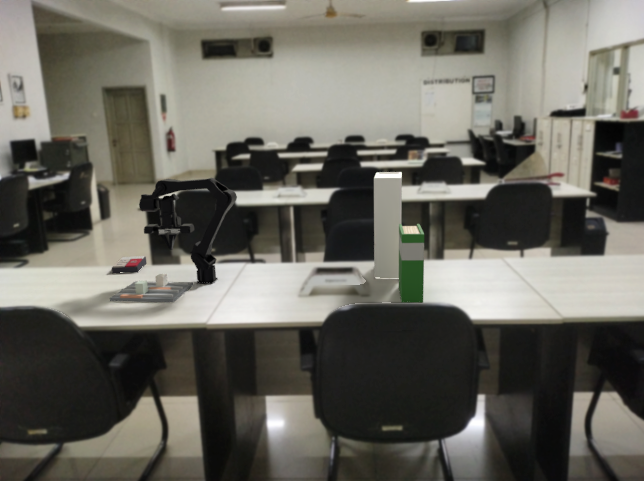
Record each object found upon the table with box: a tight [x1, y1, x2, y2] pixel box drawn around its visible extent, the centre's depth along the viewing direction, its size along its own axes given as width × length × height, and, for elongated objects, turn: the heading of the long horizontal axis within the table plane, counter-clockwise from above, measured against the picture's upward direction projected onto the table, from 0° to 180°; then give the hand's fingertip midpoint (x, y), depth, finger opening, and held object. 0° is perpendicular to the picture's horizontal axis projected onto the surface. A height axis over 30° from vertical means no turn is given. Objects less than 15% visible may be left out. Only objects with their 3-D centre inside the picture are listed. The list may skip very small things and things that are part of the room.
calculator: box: [111, 255, 147, 274], centre depth 234 cm, size 11×4×15 cm
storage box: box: [373, 171, 403, 278], centre depth 214 cm, size 21×10×40 cm, turn 172°
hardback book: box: [398, 223, 425, 303], centre depth 188 cm, size 18×7×24 cm, turn 175°
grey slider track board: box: [109, 280, 194, 303], centre depth 199 cm, size 24×20×2 cm
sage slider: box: [135, 280, 148, 294], centre depth 194 cm, size 3×4×4 cm
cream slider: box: [154, 273, 169, 286], centre depth 202 cm, size 3×4×4 cm
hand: (171, 249), depth 211 cm, fingers closed
